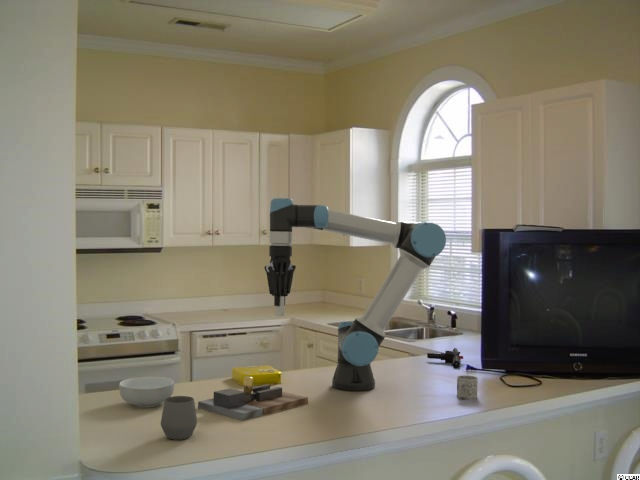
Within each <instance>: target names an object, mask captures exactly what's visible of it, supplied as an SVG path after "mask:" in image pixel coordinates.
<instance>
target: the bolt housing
mask: <svg viewBox="0 0 640 480" xmlns="http://www.w3.org/2000/svg"><path fill="white" fill-rule="evenodd" d="M243 391H244V390H243ZM243 391H242V390H239V389H234V388H230V387H229V388H225V389H220V390H215V391H213V398H214V399H213V405H215V406H219V407H223V408H227V409H232V408H236V407H240V406H244V405H245V395H246V392H243ZM282 392H283V387H280V386H276V387H273V388H271V384H269V385H267V384H266V385H256V386H253V393H256V401H258V402H261V401H265V400H270V399H274V398H278V397H282Z"/></svg>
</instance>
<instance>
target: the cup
mask: <svg viewBox="0 0 640 480" xmlns="http://www.w3.org/2000/svg"><path fill="white" fill-rule="evenodd" d="M197 424H198V418H197V411H196V404H195V398H194V397H191V396H186V395H175V396H171V397H168V398H166V399H165V401H164V402H163V408H162V412H161V420H160V426H161V429H162V431H163V433H164V435H165V436H166V438H167V439H170V440H172V441H173V440H174V441H175V440H176V441H177V440H178V441H181V440H186V439H189V438H191V436H192V435H193V433H194V431H195V429H196V427H197Z"/></svg>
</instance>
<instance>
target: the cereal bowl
mask: <svg viewBox="0 0 640 480" xmlns="http://www.w3.org/2000/svg"><path fill="white" fill-rule="evenodd" d="M118 390H119V391H118V392H119V395H120V397H121V399H122V400H123V401H125V402H126V403H128V404H132V405H134V406H135V407H137V408H153V407H158V406H160V404H161V403H164V402H165V399H166V398H168V397H172V395H173V393H174V390H175V380H173V379H172V378H170V377H165V376H140V377H132V378H127V379H124V380H121V381H120V382H119V384H118Z"/></svg>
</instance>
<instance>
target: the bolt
mask: <svg viewBox="0 0 640 480" xmlns="http://www.w3.org/2000/svg"><path fill="white" fill-rule="evenodd" d="M253 387H254V386H253V377H251V376H246V377H244V386H243V392H246V395H245V402H248V401H252V400H256V393H253Z"/></svg>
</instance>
